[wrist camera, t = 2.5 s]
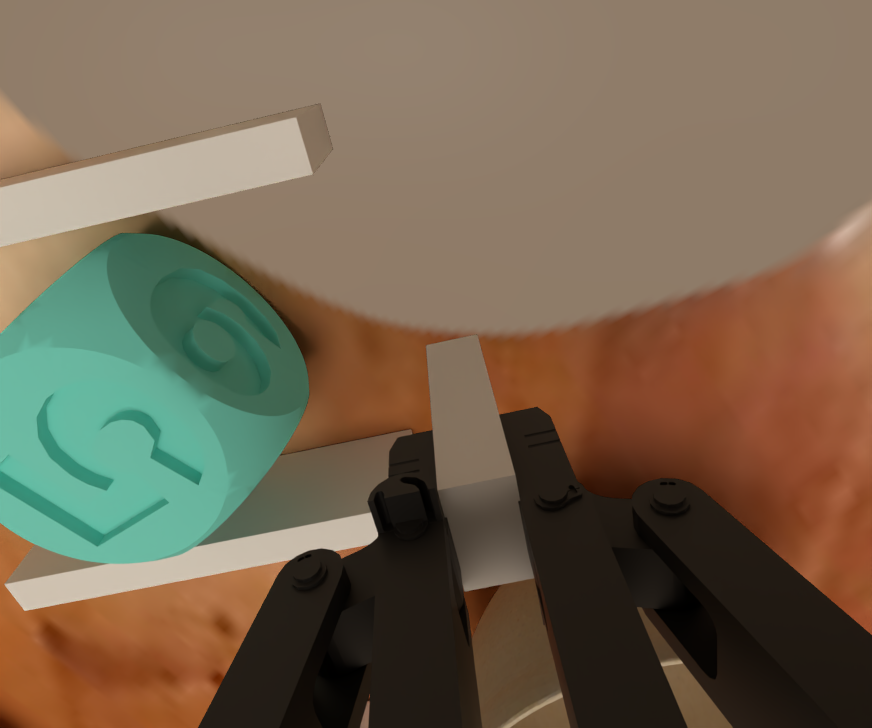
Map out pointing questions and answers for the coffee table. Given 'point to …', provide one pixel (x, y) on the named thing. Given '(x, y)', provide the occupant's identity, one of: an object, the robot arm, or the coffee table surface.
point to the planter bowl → (553, 667)
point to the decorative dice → (141, 402)
